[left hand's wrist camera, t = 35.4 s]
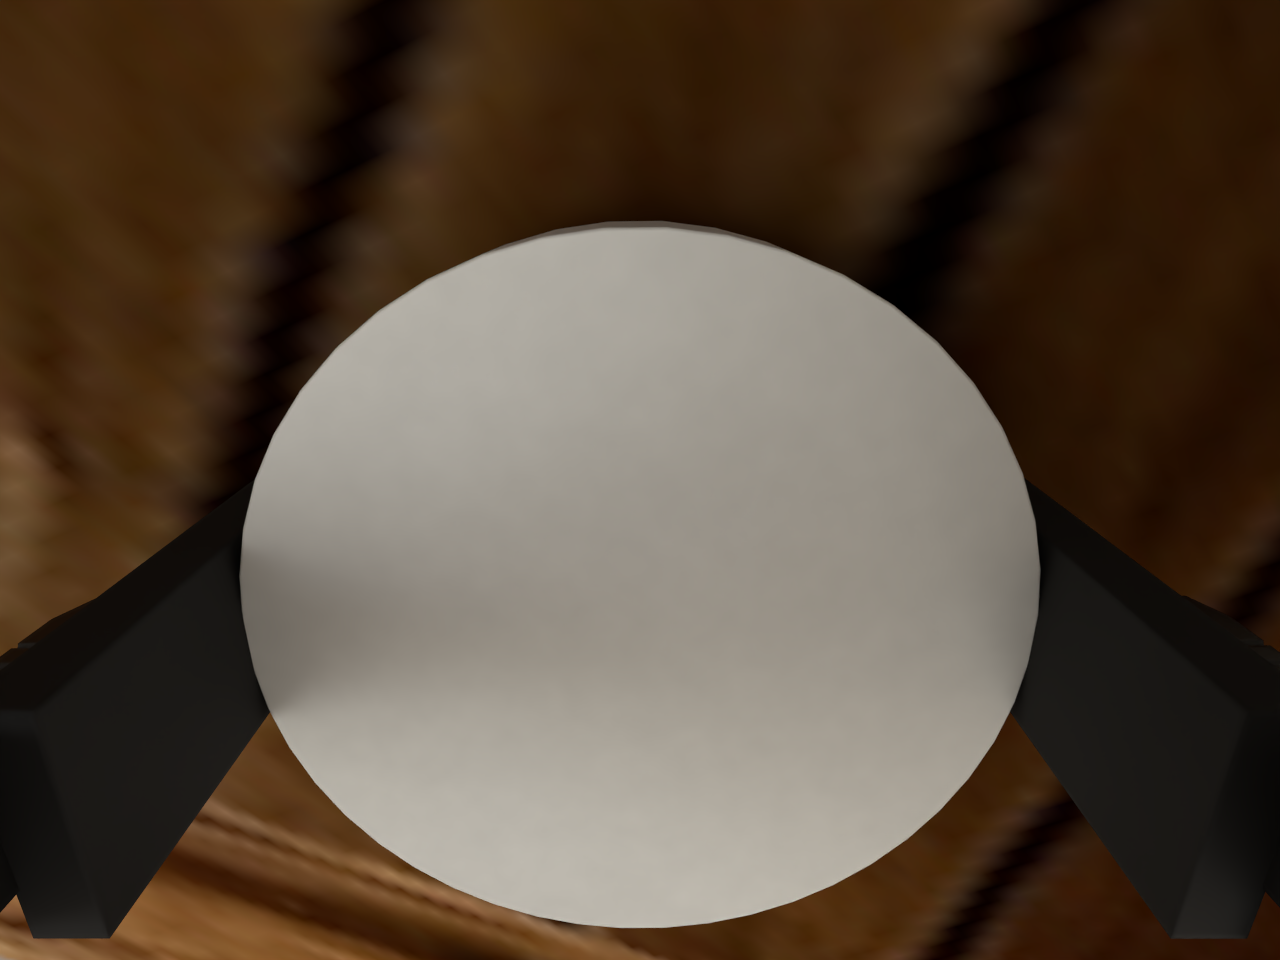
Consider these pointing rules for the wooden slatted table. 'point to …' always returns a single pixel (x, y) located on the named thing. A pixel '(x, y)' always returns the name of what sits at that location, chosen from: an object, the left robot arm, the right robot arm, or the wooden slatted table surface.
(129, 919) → the wooden slatted table surface
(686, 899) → the lid
